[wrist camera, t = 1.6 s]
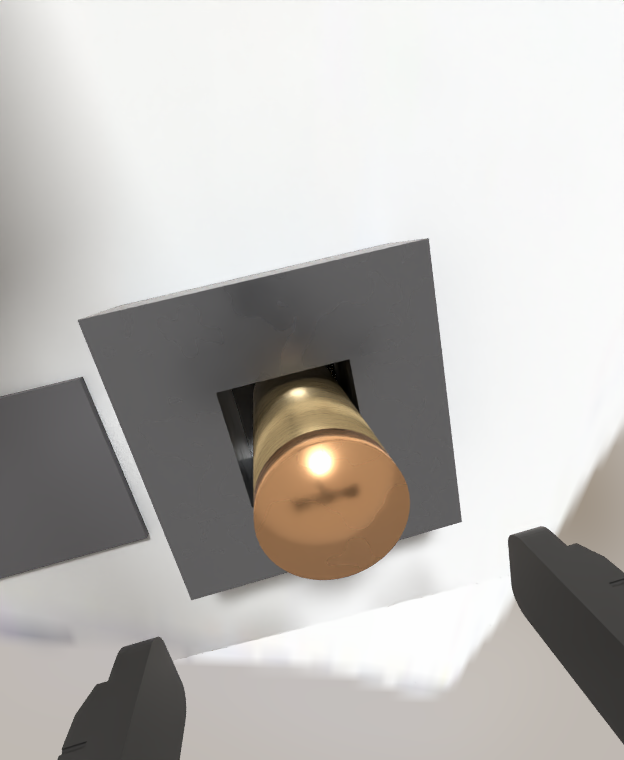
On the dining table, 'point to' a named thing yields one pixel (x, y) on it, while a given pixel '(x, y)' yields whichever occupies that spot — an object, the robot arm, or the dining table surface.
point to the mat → (59, 480)
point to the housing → (266, 361)
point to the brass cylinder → (321, 479)
